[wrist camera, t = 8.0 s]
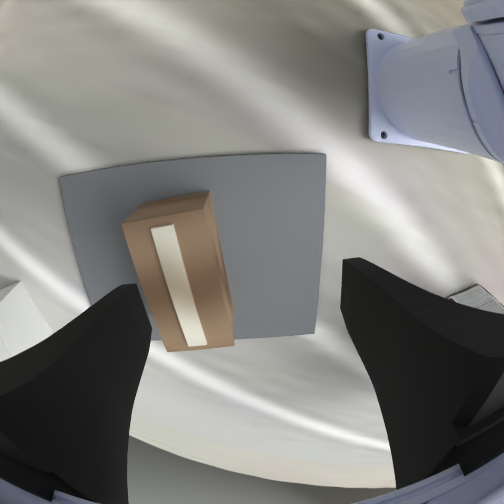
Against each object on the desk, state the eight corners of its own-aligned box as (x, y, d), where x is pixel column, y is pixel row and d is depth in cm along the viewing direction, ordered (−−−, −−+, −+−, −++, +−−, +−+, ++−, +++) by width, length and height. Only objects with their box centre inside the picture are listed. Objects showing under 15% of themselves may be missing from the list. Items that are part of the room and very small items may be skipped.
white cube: (21, 279, 21) (-14, 317, 15) (53, 331, 23) (27, 373, 18) (-8, 292, 21) (-39, 326, 16) (21, 338, 24) (-4, 375, 18)
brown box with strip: (234, 309, 22) (234, 347, 18) (176, 316, 22) (166, 354, 18) (210, 190, 18) (202, 210, 14) (142, 203, 18) (120, 225, 14)
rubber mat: (323, 153, 18) (326, 154, 17) (312, 329, 24) (314, 333, 23) (62, 176, 17) (59, 177, 17) (105, 334, 23) (103, 338, 23)
